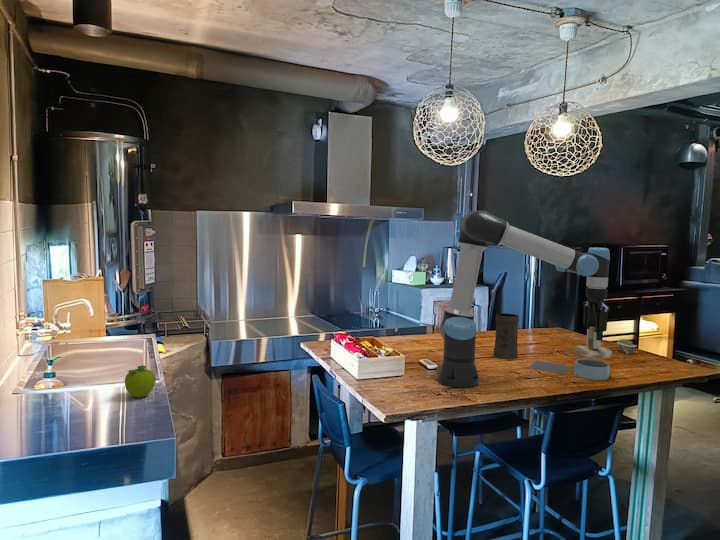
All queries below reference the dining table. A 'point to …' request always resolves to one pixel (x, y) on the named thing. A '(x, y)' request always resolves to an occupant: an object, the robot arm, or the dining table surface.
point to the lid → (592, 352)
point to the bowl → (591, 369)
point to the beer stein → (506, 336)
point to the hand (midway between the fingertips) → (593, 346)
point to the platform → (626, 346)
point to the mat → (549, 367)
